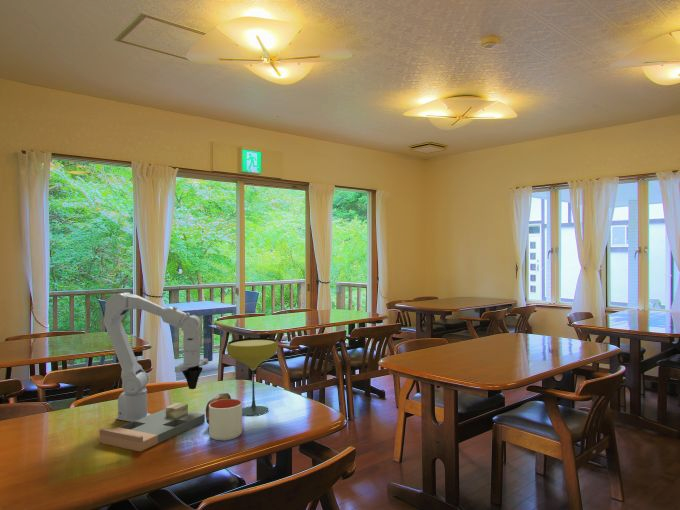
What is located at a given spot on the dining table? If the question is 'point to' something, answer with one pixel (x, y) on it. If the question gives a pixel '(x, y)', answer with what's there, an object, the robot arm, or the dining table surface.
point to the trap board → (149, 430)
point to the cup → (225, 419)
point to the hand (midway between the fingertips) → (192, 388)
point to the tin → (218, 397)
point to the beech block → (176, 410)
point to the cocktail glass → (252, 361)
